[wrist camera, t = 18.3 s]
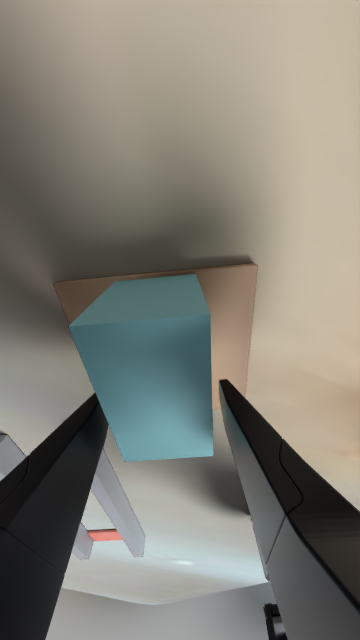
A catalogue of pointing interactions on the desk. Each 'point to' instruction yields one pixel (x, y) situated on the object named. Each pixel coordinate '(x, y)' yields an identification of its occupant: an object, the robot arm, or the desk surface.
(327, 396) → the desk surface
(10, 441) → the channel
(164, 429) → the teal block
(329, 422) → the desk surface
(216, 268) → the walnut pad
